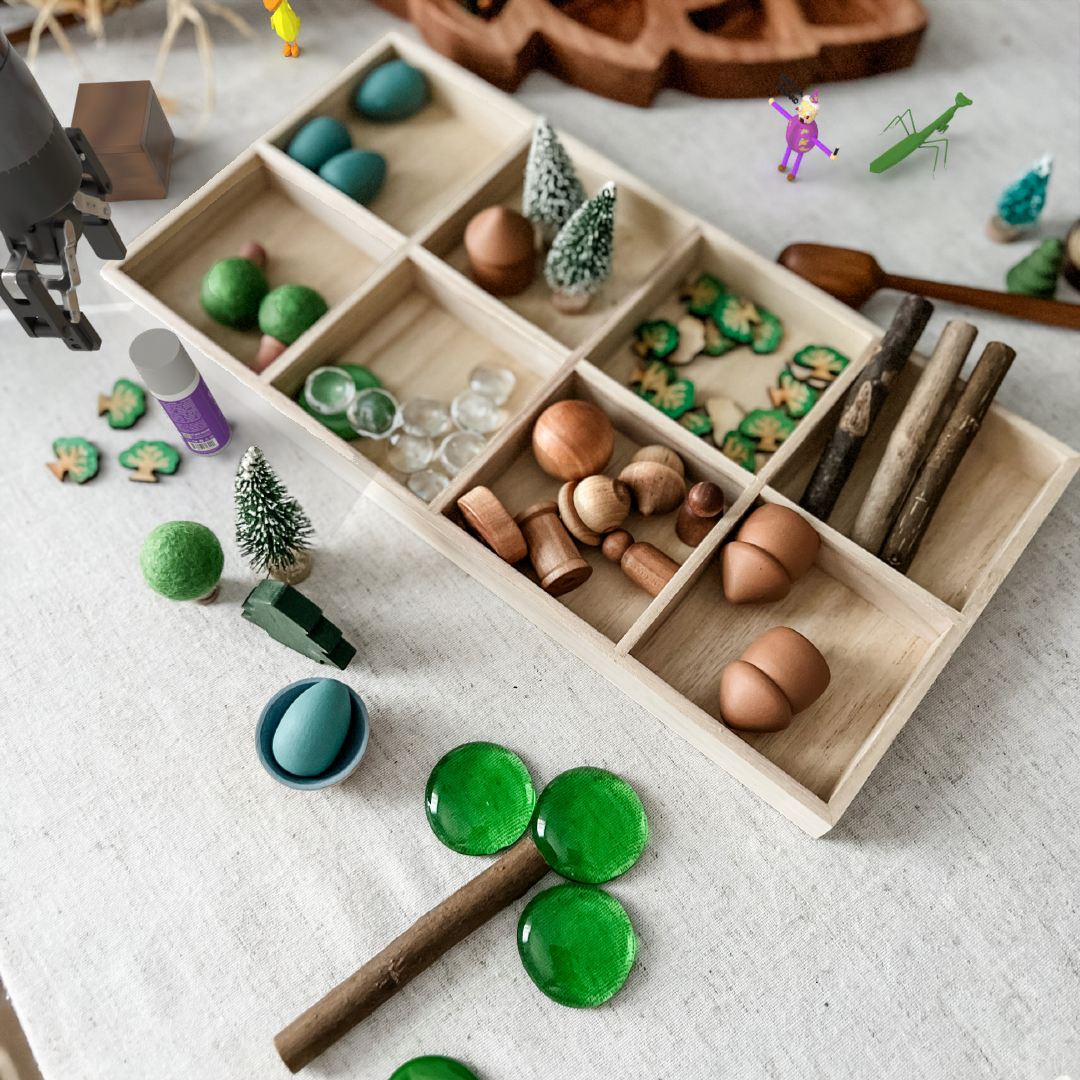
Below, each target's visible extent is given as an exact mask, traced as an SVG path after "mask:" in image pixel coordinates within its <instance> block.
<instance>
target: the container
mask: <svg viewBox="0 0 1080 1080" xmlns="http://www.w3.org/2000/svg"><path fill="white" fill-rule="evenodd" d="M128 355H129V360H130V361H131V362H132V364H133V366H134V367H135V369H136V370H137V372H138V374H139V375H140V378H141V379H142V380H143V382H144V383H145V385H146V387H147V388H148V390H149V392H150V393H151V395H152V396H153V398H154V400H155V401H156V403H157V404H158V406H159V407H160V408H161V410H162V411H163V413H164V414H165V415H166V417H167V419H168V421H170V423H171V425H172V426H173V427H174V429H175V431H176V432H177V433H178V435H179V437H180V438H181V440H182V441H183V443H184V444H185V445H186V447H187V448H188V450H189V451H191V453H192V454H195V455H196V456H199V457H213V456H216V455H218V454H221V452H223V451H225V450H226V448H227V447H229V445H230V443H231V441H232V437H233V431H232V428H231V426H230V424H229V422H228V420H227V418H226V417H225V415H224V413H223V411H222V410H221V408H220V406H219V404H218V403H217V401H216V398H214V395H213V394H212V391H211V390H210V388H209V387H208V385H207V383H206V382H205V380H204V378H203V376H202V374H201V373H200V370H199V369H198V367H197V366H196V365H195V363H194V361H193V360H192V358H191V356H190V355H189V353H188V351H187V350H186V348H185V346H184V345H183V343H182V342H181V339H179V336H178V335H177V334H176V333H175V332H173V331H172V330H170V329H168V328H162V327H157V328H150V329H147V330H145V331H143V332H141V333H140V334H138V335H137V336H135V337H134V339H133V340H132V342H131V344H130V346H129V349H128Z"/></svg>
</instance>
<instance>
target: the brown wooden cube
mask: <svg viewBox="0 0 1080 1080" xmlns="http://www.w3.org/2000/svg"><path fill="white" fill-rule="evenodd" d="M73 107H74V108H73V113H72V118H71V123H70V127H78V128H80V129H81V130H82V132H83V134H84V135H85V137H86V139H87V140H88V142H89V144H90V146H91V147H92V149H93V151H94V152H95V154H96V156H97V157H98V159H99V161H100V162H101V164H102V166H103V168H104V169H105V171H106V173H107V174H108V176H109V178H110V179H111V181H112V185H113V192H112V194H111V195H106V198H105V202H107V203H108V202H124V201H126V202H127V201H142V200H143V201H144V200H162V199H163V200H164V199H168V191H169V183H170V175H171V168H172V160H173V151H174V143H175V134H174V131H173V130H172V127H171V125H170V123H169V120H168V118H167V115H166V114H165V111H164V109H163V107H162V104H161V102H160V100H159V98H158V96H157V93H156V91H155V89H154V86H153V84H152V81H151V80H150V79H144V80H122V81H100V82H99V81H98V82H82V83H81V82H80V83H78V86H77V92H76V97H75V102H74V106H73ZM82 176H83V177H92V176H91V175H89V174H85V173H83V174H82Z"/></svg>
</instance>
